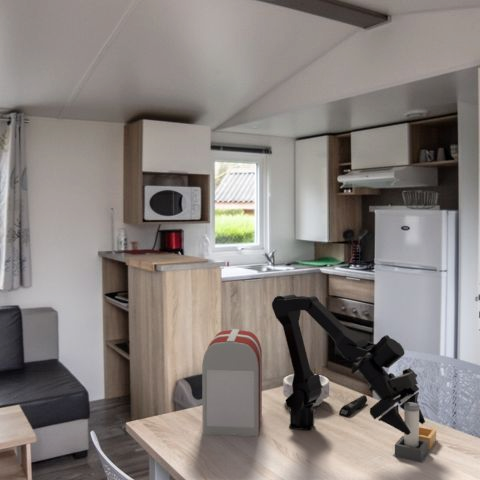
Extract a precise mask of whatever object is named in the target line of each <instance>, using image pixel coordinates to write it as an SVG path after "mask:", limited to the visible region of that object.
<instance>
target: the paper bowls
mask: <svg viewBox="0 0 480 480" xmlns="http://www.w3.org/2000/svg"><path fill="white" fill-rule="evenodd" d="M314 375H316V373H314ZM319 376H320V382H321V385H322V388H321V394H320V396H319V398H317V401H316V403H313V407H317V406H320V405H321V404H322V402H323V401H324V400H325V399H327V398H328V397H329V396H330V380H329V378H327V377H326V376H324V375H320V374H319ZM293 377H294V373H293V374H292V373H291V374H289V375H287V376H285V377H284V378H283V380H282V381H283V382H282V385H283V386H282V388H283V390H282V392H283V396H284V397H286V399H287V398H288V397H289V396H290V395H291V394H293V388H292V382H293Z"/></svg>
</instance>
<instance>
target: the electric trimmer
mask: <svg viewBox="0 0 480 480" xmlns="http://www.w3.org/2000/svg"><path fill="white" fill-rule="evenodd" d="M366 403H368V398H367V395H365V394H363V395H360V397H358V398H356V399H353V400H352V401H350V402H349V403H346V404H344V405H342V406H341V408H340V410H339V412H338V415H339V416H342V417H346V418H348V417H351V415H352V413H353V412H355V411H357V410H361V409H362V408H363V407H364V406H365V404H366Z"/></svg>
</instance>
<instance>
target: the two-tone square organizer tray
mask: <svg viewBox="0 0 480 480" xmlns="http://www.w3.org/2000/svg"><path fill="white" fill-rule="evenodd" d="M438 442H439V440H437V429H434V428H428V427H424V426H420V425H419V449H418V448H413V447H409V446H405V445H404V435H402V436H401V437H400V438H398V440H397V442H395V444H394V453H393V454H392V457H394V458H398V459H399V458H400V459H403V460H408V461H410V462H411V461H412V462H415V463H420V464H424V462H425V461H426V459H427V457H429V455H430V454H431V452H432V450H433V449H434V448H435V446H436V445H437V443H438Z"/></svg>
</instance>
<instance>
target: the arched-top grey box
mask: <svg viewBox="0 0 480 480" xmlns="http://www.w3.org/2000/svg"><path fill="white" fill-rule="evenodd" d="M204 352H205V353H204V354H203V358H202V364H201V367H202V368H201V371H202V372H201V375H202V376H201V377H202V378H201V382H202V383H201V385H202V387H201V388H202V391H201V392H202V393H201V395H202V396H201V397H202V398H201V399H202V434H203V435H212V436H213V435H217V436H218V435H219V436H242V437H243V436H245V437H246V436H249V437H258V436H259V434H260V428H261V426H262V416H263V415H262V413H263V408H262V407H263V405H262V404H263V403H262V402H263V401H262V400H263V398H262V397H263V395H262V393H263V391H262V389H263V387H262V386H263V385H262V384H263V383H262V382H263V381H262V379H263V378H262V376H263V375H262V374H263V371H262V370H263V364H262V362H263V361H262V360H263V359H262V357H263V355H262V354H263V352H262V346H261V343H260V340H259V338H258V337H257V336H256V334H255V333H253V332H252V331H247V330H241V329H239V328H233V329H230V330H229V329H228V330H222V331H220V332H218V333H217V334H216V335H215V336H214V337H213V339H212V340H211V341H210V342H209V344H208V346H207V349H206V351H204Z"/></svg>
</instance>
